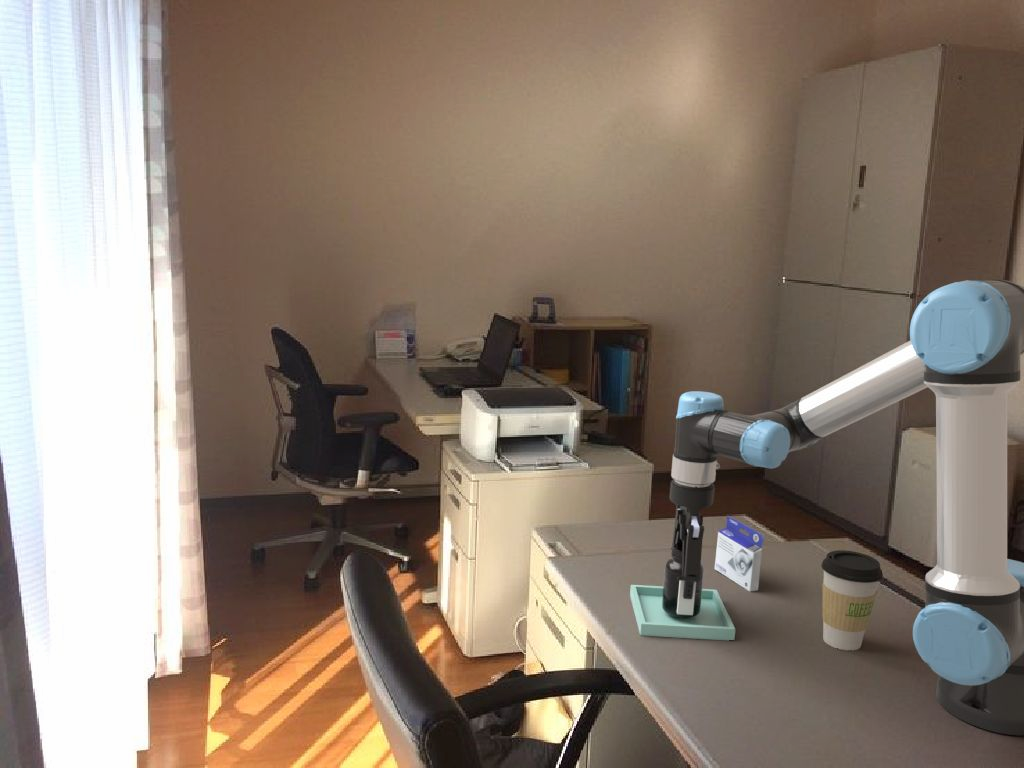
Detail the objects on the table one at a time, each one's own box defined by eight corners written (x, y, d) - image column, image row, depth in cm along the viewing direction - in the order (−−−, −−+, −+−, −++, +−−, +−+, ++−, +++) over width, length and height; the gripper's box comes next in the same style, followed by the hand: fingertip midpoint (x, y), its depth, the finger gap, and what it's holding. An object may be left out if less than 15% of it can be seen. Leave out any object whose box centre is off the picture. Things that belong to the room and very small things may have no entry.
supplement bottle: (698, 604, 166) (704, 541, 163) (701, 620, 159) (708, 556, 156) (659, 600, 166) (665, 538, 164) (662, 617, 160) (668, 552, 157)
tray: (734, 640, 155) (735, 629, 155) (640, 635, 155) (641, 623, 155) (715, 600, 171) (716, 589, 170) (629, 595, 171) (630, 584, 170)
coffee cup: (877, 659, 151) (889, 575, 148) (815, 650, 153) (826, 567, 150) (867, 632, 161) (878, 553, 158) (809, 625, 162) (819, 545, 159)
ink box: (712, 569, 185) (718, 516, 183) (722, 568, 186) (727, 514, 184) (749, 593, 175) (755, 536, 172) (759, 591, 176) (765, 534, 173)
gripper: (726, 500, 148) (713, 631, 153) (703, 465, 167) (692, 582, 172) (680, 498, 148) (668, 628, 153) (663, 463, 167) (652, 579, 172)
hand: (681, 603), depth 162 cm, fingers open, 7 cm apart
